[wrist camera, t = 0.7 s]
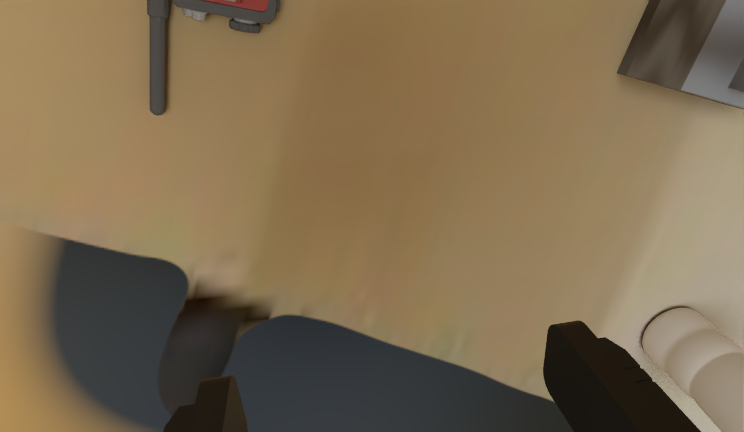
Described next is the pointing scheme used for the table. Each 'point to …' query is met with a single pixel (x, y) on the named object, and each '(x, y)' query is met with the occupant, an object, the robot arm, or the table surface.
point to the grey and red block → (243, 3)
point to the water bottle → (700, 364)
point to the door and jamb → (691, 48)
